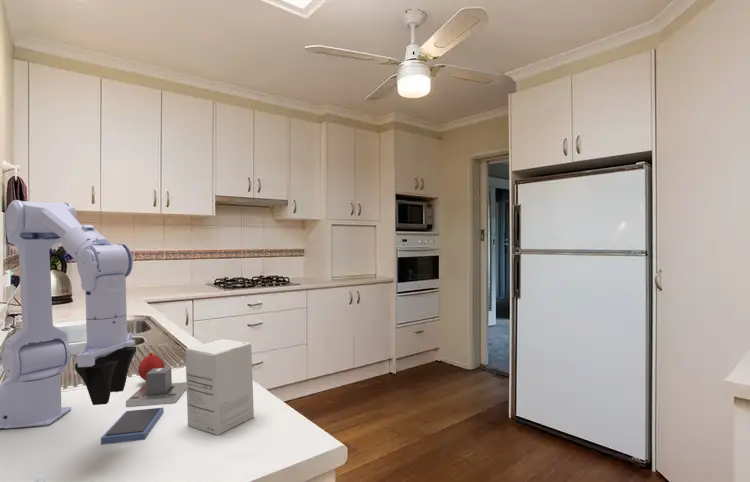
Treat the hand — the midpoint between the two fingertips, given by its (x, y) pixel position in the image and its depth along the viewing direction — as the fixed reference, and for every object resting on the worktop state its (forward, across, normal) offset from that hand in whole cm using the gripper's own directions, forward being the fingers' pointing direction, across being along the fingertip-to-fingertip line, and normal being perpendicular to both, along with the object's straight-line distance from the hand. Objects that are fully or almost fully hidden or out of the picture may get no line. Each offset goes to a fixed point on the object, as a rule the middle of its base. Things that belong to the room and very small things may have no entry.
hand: (108, 397), depth 70 cm
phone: (+10, +10, 0) cm, 14 cm away
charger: (+10, +26, +1) cm, 28 cm away
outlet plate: (+9, +26, +1) cm, 28 cm away
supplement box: (+10, +9, -16) cm, 21 cm away
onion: (+10, +36, +6) cm, 38 cm away
